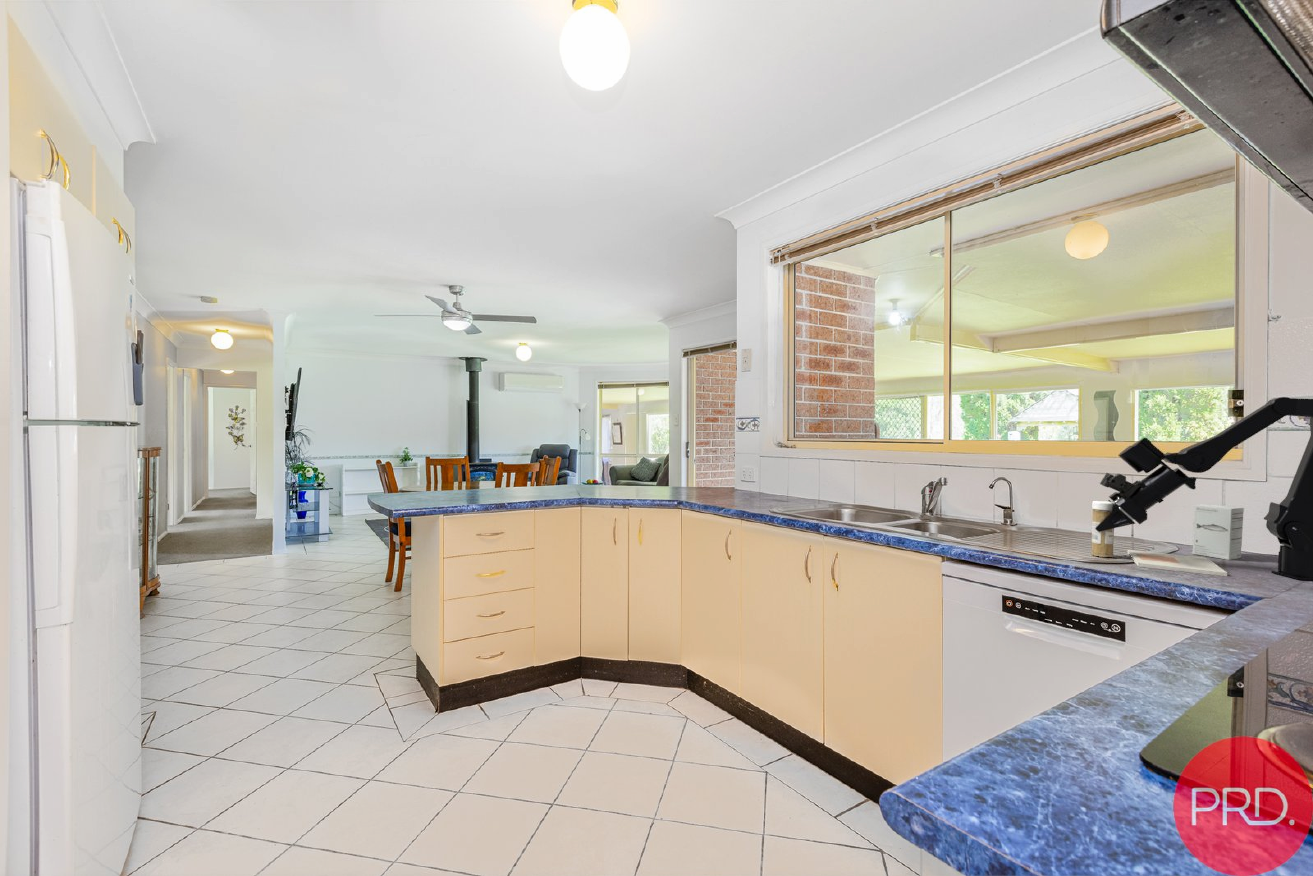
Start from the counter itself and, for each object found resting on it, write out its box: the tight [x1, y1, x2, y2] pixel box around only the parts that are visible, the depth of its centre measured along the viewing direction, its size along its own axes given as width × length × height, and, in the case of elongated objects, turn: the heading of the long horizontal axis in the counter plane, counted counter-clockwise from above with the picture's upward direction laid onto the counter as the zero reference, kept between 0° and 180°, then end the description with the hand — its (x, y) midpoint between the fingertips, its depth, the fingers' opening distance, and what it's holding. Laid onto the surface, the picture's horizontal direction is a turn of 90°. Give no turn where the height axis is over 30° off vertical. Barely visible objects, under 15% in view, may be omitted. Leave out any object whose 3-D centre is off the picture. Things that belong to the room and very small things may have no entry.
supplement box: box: [1192, 503, 1245, 561], centre depth 150 cm, size 7×7×13 cm
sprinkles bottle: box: [1090, 500, 1115, 558], centre depth 147 cm, size 5×5×13 cm
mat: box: [1127, 549, 1228, 577], centre depth 141 cm, size 15×18×1 cm
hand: (1095, 528), depth 148 cm, fingers closed on sprinkles bottle, 4 cm apart
